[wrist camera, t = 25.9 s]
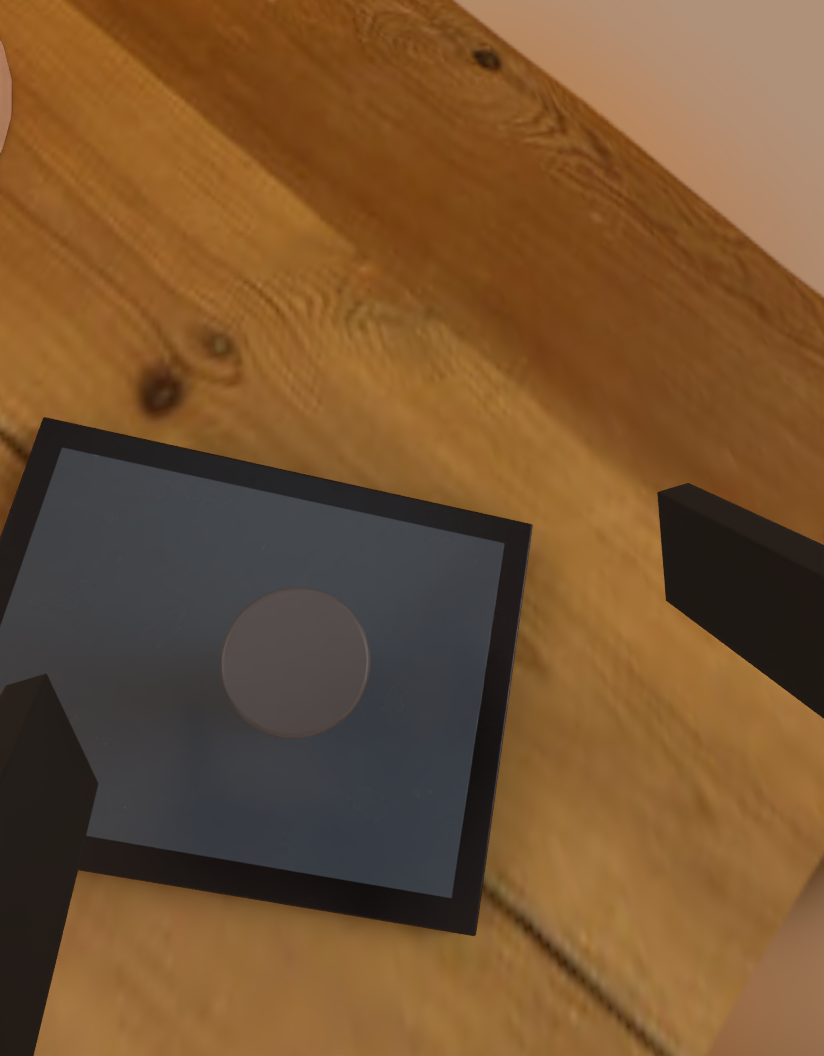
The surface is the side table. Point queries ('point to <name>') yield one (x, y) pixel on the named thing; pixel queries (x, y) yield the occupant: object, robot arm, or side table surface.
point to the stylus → (295, 663)
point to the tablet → (198, 694)
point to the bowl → (4, 96)
